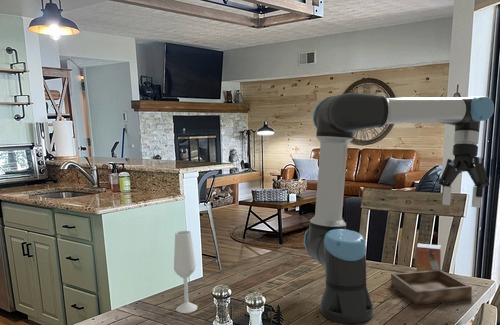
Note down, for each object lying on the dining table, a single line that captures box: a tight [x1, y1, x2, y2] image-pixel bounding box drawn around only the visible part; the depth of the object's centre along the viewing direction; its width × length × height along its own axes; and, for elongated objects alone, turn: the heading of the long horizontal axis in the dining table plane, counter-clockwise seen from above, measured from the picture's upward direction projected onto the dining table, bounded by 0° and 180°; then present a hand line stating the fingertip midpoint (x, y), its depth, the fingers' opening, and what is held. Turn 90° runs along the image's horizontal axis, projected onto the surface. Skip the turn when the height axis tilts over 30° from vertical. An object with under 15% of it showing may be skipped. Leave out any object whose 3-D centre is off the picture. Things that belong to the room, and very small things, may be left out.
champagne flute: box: [173, 230, 199, 314], centre depth 123 cm, size 7×7×24 cm
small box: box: [416, 242, 442, 272], centre depth 144 cm, size 8×6×10 cm
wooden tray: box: [390, 269, 473, 306], centre depth 129 cm, size 18×16×4 cm
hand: (460, 206), depth 135 cm, fingers open, 13 cm apart
